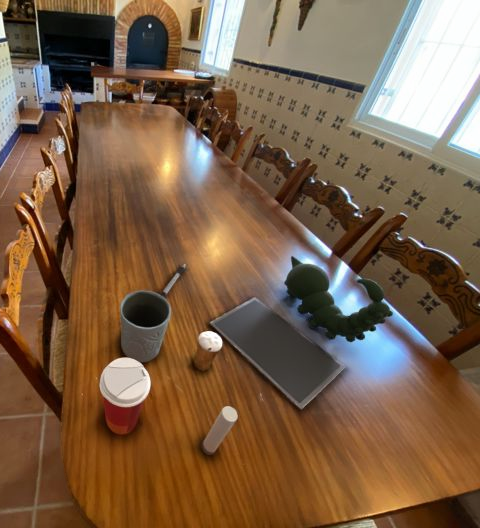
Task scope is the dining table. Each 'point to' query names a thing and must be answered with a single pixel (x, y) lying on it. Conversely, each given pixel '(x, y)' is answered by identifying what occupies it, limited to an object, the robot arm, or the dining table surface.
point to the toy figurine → (322, 303)
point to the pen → (173, 280)
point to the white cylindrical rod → (219, 429)
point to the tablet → (278, 351)
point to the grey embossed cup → (143, 324)
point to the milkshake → (207, 350)
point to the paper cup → (124, 393)
